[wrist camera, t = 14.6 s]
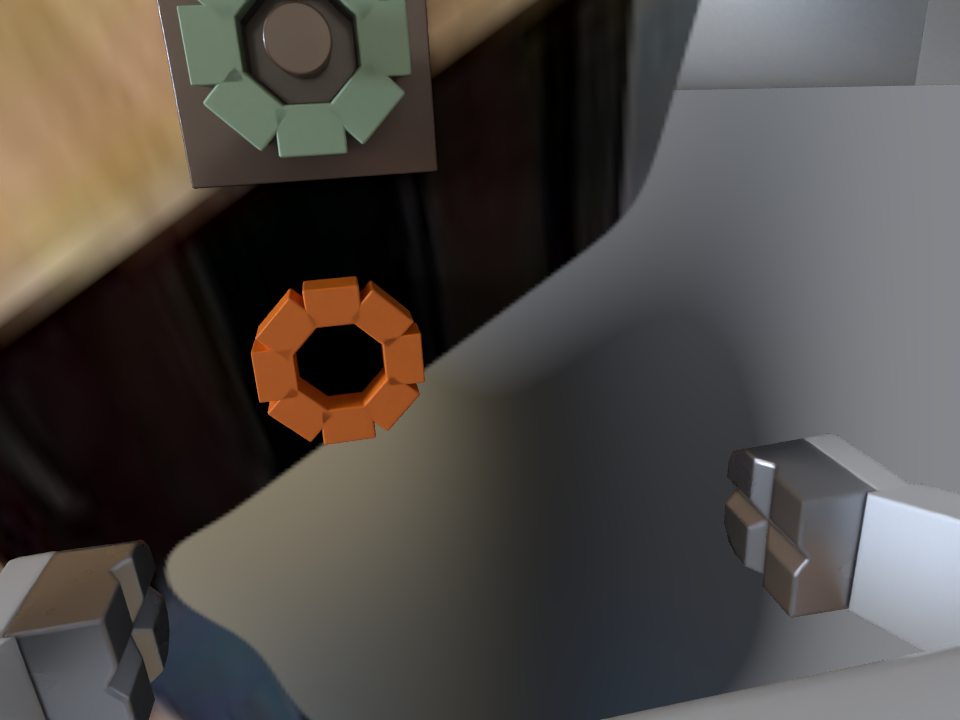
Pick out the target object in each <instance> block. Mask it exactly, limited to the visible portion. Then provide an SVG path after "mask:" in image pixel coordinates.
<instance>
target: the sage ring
mask: <svg viewBox="0 0 960 720" xmlns="http://www.w3.org/2000/svg"><path fill="white" fill-rule="evenodd" d="M198 1H199V2H200V3H201V4H202V5H186V6H177V11H178V17H179V22H180V28H181V33H182V39H183V44H184V50H185V55H186V61H187V66H188V72H189V77H190V83H191V85H193V86H215V87H214V88H213V90H212V91H211V92H210V94H209V95H208V96H207V98H206V99H205V100H204V103H203V104H204V105H205V106H206V107H207V108H208V109H209V110H211V111H212V112H213V113H214V114H216V115H217V116H218V117H219V118H220V119H222V120H223V121H224V122H225V123H227V124H228V125H229V126H230V127H231V128H233V129H234V130H235V131H236V132H238V133H239V134H240V135H241V136H242V137H244V138H245V139H246V140H247V141H249V142H250V143H251V144H252V145H254V146H255V147H256V148H257V149H258V150H260V151H262V150H264V149H265V148H266V147H267V146H268V145H269V143H270V142H271V141H272V140H273V138H274V137H275V136H276V138H277V144H278V151H279V156H280V157H281V158H288V157H303V156H318V155H334V154H346V153H347V151H348V149H347V140H346V131H347V132H348V133H350V134H351V135H352V136H353V137H354V138H355V139H356V140H358V141H359V142H360V143H361V144H365V143H366V142H367V140H368V139H369V138H370V137H371V136H372V134H373V133H374V132H375V131H376V129H377V128H378V127H379V126H380V124H381V123H382V122H383V121H384V120H385V118H386V117H387V116H388V115H389V113H390V112H391V111H392V110H393V108H394V107H395V106H396V105H397V104H398V102H399V101H400V100H401V99H402V97H403V96H404V94H405V92H404V90H403V89H402V88H401V87H399V86H398V85H397V84H396V83H395V82H394V81H393V80H392V79H391V78H390V77H403V76H408V75H410V74H411V62H410V49H409V36H408V23H407V10H406V1H405V0H335V1H336V2H337V3H338V4H339V5H340V6H341V7H342V8H343V9H344V10H345V11H346V12H347V13H348V14H349V15H350V16H351V17H352V18H353V19H354V29H355V38H356V48H357V58H358V68H357V70H356V71H355V72H354V73H353V75H352V76H351V77H350V78H349V80H348V81H347V82H346V83H345V85H344V86H343V87H342V89H341V90H340V91H339V92H338V94H337V95H336V96H335V97H334V99H333V100H332V101H331V102H326V103H307V104H289V105H285V104H284V103H283V102H282V101H281V100H279V99H278V98H277V97H276V96H275V95H274V94H273V93H271V92H270V91H269V90H268V89H267V88H266V87H264V86H263V85H262V84H261V83H260V82H259V81H257V80H256V79H255V78H254V77H253V76H252V75H250V74H249V73H248V70H247V64H246V57H245V51H244V44H243V38H242V31H241V25H240V21H241V20H242V19H243V18H244V16H245V15H246V14H247V12H248V11H249V10H250V8H251V7H252V6H253V4H254V3H255V2H256V0H198ZM345 130H346V131H345Z"/></svg>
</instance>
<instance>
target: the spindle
mask: <svg viewBox="0 0 960 720" xmlns="http://www.w3.org/2000/svg"><path fill="white" fill-rule="evenodd" d="M405 1H406V10H407V23H408V36H409V49H410V62H411V74H410V75H408V76H404V77H400V78H391V79H392V80H393V81H394V82H395V83H396V84H397V85H398V86H399V87H401V88H402V89H403V90H404V92H405V94H404V96H403V97H402V99H401V100H400V101H399V102H398V104H397V105H396V106H395V107H394V108H393V110H392V111H391V112H390V113H389V115H388V116H387V117H386V118H385V120H384V121H383V122H382V123H381V124H380V126H379V127H378V128H377V129H376V131H375V132H374V133H373V134H372V136H371V137H370V138H369V139H368V140H367V142H366V143H365V144H361V143H360V142H359V141H358V140H356V139H355V138H354V137H353V136H352V135H351V134H350V133H348V132H347V131H346V130H345V131H346V140H347V149H348V151H347V153H346V154H334V155H318V156H303V157H288V158H281V157H280V156H279V151H278V144H277V138H276V137H275V138H274V140H273V141H272V142H271V143H270V145H268V146H267V147H266V148H265V149H264V150H262V151H260V150H258V149H257V148H256V147H255V146H254V145H252V144H251V143H250V142H249V141H247V140H246V139H245V138H244V137H242V136H241V135H240V134H239V133H238V132H236V131H235V130H234V129H233V128H231V127H230V126H229V125H228V124H227V123H225V122H224V121H223V120H222V119H220V118H219V117H218V116H217V115H216V114H214V113H213V112H212V111H211V110H209V109H208V108H207V107H206V106H205V105H204V104H203V103H204V100H205V99H206V98H207V96H208V95H209V94H210V92H211V91H212V90H213V88H214V87H204V86H193V85H191V83H190V77H189V72H188V66H187V61H186V55H185V50H184V44H183V39H182V33H181V28H180V22H179V17H178V11H177V6H186V5H202V4H201V3H200V2H199V1H198V0H157V5H158V10H159V15H160V20H161V26H162V31H163V36H164V41H165V47H166V52H167V57H168V62H169V68H170V73H171V78H172V83H173V88H174V94H175V99H176V104H177V109H178V115H179V120H180V125H181V130H182V136H183V141H184V146H185V151H186V157H187V162H188V167H189V172H190V177H191V183H192V187H193V188H194V189H197V188H211V187H225V186H239V185H253V184H267V183H280V182H294V181H308V180H322V179H336V178H350V177H364V176H377V175H391V174H405V173H419V172H433V171H437V154H436V140H435V125H434V110H433V96H432V81H431V66H430V52H429V37H428V22H427V8H426V0H405ZM245 30H246V36H247V43H248V49H249V56H250V62H251V69H252V74H253V75H254V76H255V77H257V78H258V79H259V80H260V81H261V82H262V83H264V84H265V85H266V86H267V87H268V88H269V89H271V90H272V91H273V92H274V93H275V94H276V95H278V96H279V97H280V98H281V99H282V100H283V101H285V102H286V103H287V104H301V103H320V102H330V101H331V100H332V99H333V98H334V96H335V95H336V94H337V93H338V91H339V90H340V89H341V88H342V86H343V85H344V84H345V83H346V81H347V80H348V79H349V78H350V76H351V75H352V74H353V72H354V71H355V70H356V61H355V51H354V42H353V32H352V23H351V22H350V21H349V20H348V19H347V18H346V17H345V16H344V15H343V14H342V13H341V12H339V11H338V10H337V9H336V8H335V7H334V6H333V5H332V4H331V3H330V2H329V1H328V0H265V1H264V2H263V4H262V5H261V6H260V8H259V9H258V10H257V12H256V13H255V14H254V16H253V17H252V18H251V19H250V21H249V22H248V23H247V25H246V26H245Z"/></svg>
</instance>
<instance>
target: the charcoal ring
mask: <svg viewBox="0 0 960 720" xmlns="http://www.w3.org/2000/svg"><path fill="white" fill-rule="evenodd" d="M264 1H265V0H256V2H255V3H254V4H253V6H252V7H251V8H250V10H249V11H248V12H247V14H246V15H245V16H244V18H243V19H242V20H241V21H240V25H241V31H242V38H243V44H244V51H245V57H246V64H247V70H248V73H249V74H250V75H252V76H253V77H254V78H255V79H256V80H257V81H259V82H260V83H261V84H262V85H263V86H264V87H266V88H267V89H268V90H269V91H270V92H271V93H273V94H274V95H275V96H276V97H277V98H278V99H279V100H281V101H282V102H283V103H284V104H285V105H289V104H287V103H286V102H285V101H283V100H282V99H281V98H280V97H279V96H278V95H276V94H275V93H274V92H273V91H272V90H271V89H269V88H268V87H267V86H266V85H265V84H264V83H262V82H261V81H260V80H259V79H258V78H257V77H255V76H254V75H253V74H252V69H251V62H250V56H249V49H248V43H247V36H246V30H245V26H246V25H247V23H248V22H249V21H250V19H251V18H252V17H253V16H254V14H255V13H256V12H257V10H258V9H259V8H260V6H261V5H262V4H263V2H264ZM328 1H329V2H330V3H331V4H332V5H333V6H334V7H335V8H336V9H337V10H338V11H339V12H341V13H342V14H343V15H344V16H345V17H346V18H347V19H348V20H349V21H350V22H351V23H352V32H353V42H354V51H355V61H356V70H357V68H358V58H357V48H356V38H355V29H354V19H353V18H352V17H351V16H350V15H349V14H348V13H347V12H346V11H345V10H344V9H343V8H342V7H341V6H340V5H339V4H338V3H337V2H336V1H335V0H328ZM356 70H355V71H356ZM355 71H354V72H355ZM354 72H353V73H354ZM352 75H353V74H352ZM352 75H351V76H352ZM351 76H350V77H351ZM403 77H404V76H403ZM390 78H400V77H390ZM348 80H349V79H348ZM348 80H347V81H348ZM347 81H346V82H347ZM344 85H345V84H344ZM344 85H343V86H344ZM343 86H342V87H343ZM204 87H215V86H204ZM341 89H342V88H341ZM341 89H340V90H341ZM340 90H339V91H340ZM339 91H338V92H339ZM337 94H338V93H337ZM337 94H336V95H337ZM336 95H335V96H336ZM335 96H334V97H335ZM333 99H334V98H333ZM333 99H332V100H333ZM332 100H331V101H332ZM331 101H330V102H331ZM320 103H326V102H320ZM301 104H307V103H301ZM275 137H276V136H275ZM275 137H274V138H275ZM274 138H273V140H274ZM273 140H272V141H273ZM272 141H271V142H272ZM271 142H270V143H271ZM270 143H269V145H270Z"/></svg>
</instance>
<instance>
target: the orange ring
mask: <svg viewBox="0 0 960 720" xmlns="http://www.w3.org/2000/svg"><path fill="white" fill-rule="evenodd" d="M302 294H303V297H302V296H301V295H300V294H298V293H297V292H296V291H294V290H293V289H289V290H288V291H287V293H286V294H285V295H284V296H283V297H282V299H281V300H280V301H279V302H278V304H277V305H276V306H275V307H274V308H273V310H272V311H271V312H270V313H269V314H268V316H267V317H266V318H265V319H264V321H263V322H262V323H261V324H260V325H259V327H258V331H257V334H256V338H255V339H256V340H255V341H254V344H253V348H252V351H251V357H252V362H253V368H254V374H255V379H256V385H257V391H258V396H259V402H260V403H262V402H270V404H269V410H268V414H269V415H270V416H272V417H273V418H275V419H276V420H278V421H279V422H281V423H282V424H284V425H286V426H287V427H289V428H290V429H292V430H293V431H295V432H296V433H298V434H299V435H301V436H302V437H304V438H305V439H307V440H309V441H312V440H313V439H314V438H315V437H316V435H317V434H318V433H319V432H320V431H321V430H322V433H323V440H324V444H333V443H340V442H348V441H355V440H362V439H370V438H375V437H376V433H375V425H374V422H375V423H377V424H378V425H379V426H381V427H382V428H384V429H385V430H387V431H388V430H389V429H390V428H391V427H392V426H393V425H394V424H395V422H396V421H397V420H398V419H399V418H400V417H401V416H402V414H403V413H404V412H405V411H406V410H407V409H408V408H409V406H410V405H411V404H412V403H413V402H414V401H415V399H416V398H417V397H418V396H419V394H420V393H419V391H418V387H417V385H416V383H421V382H424V381H425V378H424V365H423V353H422V341H421V333H420V331H419V329H418V326H417V324H416V323H413V319H412V317H411V314H410V312H409V310H408V309H406V308H405V307H404V306H403V305H401V304H400V303H399V302H398V301H396V300H395V299H394V298H392V297H391V296H390V295H389V294H387V293H386V292H385V291H384V290H382V289H381V288H380V287H379V286H377V285H376V284H375V283H373V282H372V281H369V282H368V283H367V285H366V286H365V287H364V288H363V289H362V290H361V292H359V284H358V279H357V277H356V276H353V277H342V278H332V279H322V280H311V281H304V282H303V290H302ZM347 324H355V325H357V326H358V327H359V328H361V329H362V330H363V331H365V332H366V333H367V334H369V335H370V336H371V337H373V338H374V339H375V340H377V341H378V342H379V343H381V347H382V356H383V366H384V367H383V368H382V369H381V371H380V372H379V373H378V374H377V375H376V376H375V378H374V379H373V380H372V381H371V382H370V383H369V384H368V386H367V387H366V388H365V389H364V390H363V391H362V392H358V393H350V394H342V395H334V396H327V395H325V394H324V393H322V392H321V391H320V390H318V389H317V388H315V387H314V386H312V385H311V384H309V383H308V382H307V381H305V380H304V379H302V378H301V377H300V376H299V369H298V363H297V356H296V352H297V351H298V349H299V348H300V347H301V346H302V345H303V343H304V342H305V341H306V340H307V339H308V338H309V336H310V335H311V334H312V333H313V332H314V330H315V329H316V328H320V327H329V326H338V325H347Z"/></svg>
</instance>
